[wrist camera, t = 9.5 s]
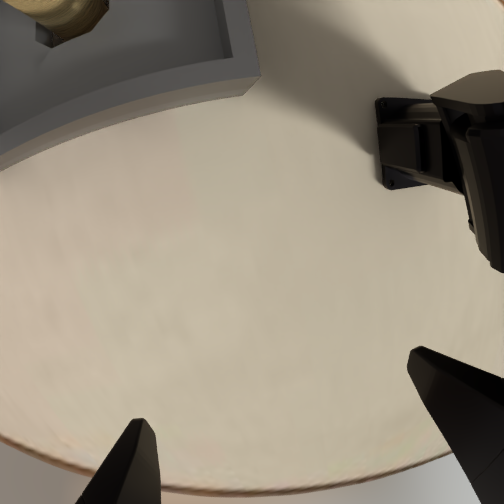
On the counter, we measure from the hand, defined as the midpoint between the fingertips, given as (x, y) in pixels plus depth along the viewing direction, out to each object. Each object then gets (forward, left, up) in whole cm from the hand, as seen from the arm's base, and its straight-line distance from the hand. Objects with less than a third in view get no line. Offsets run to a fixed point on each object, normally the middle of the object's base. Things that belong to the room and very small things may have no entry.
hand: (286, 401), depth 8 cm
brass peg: (+7, -18, -12) cm, 23 cm away
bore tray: (+7, -18, -12) cm, 23 cm away
